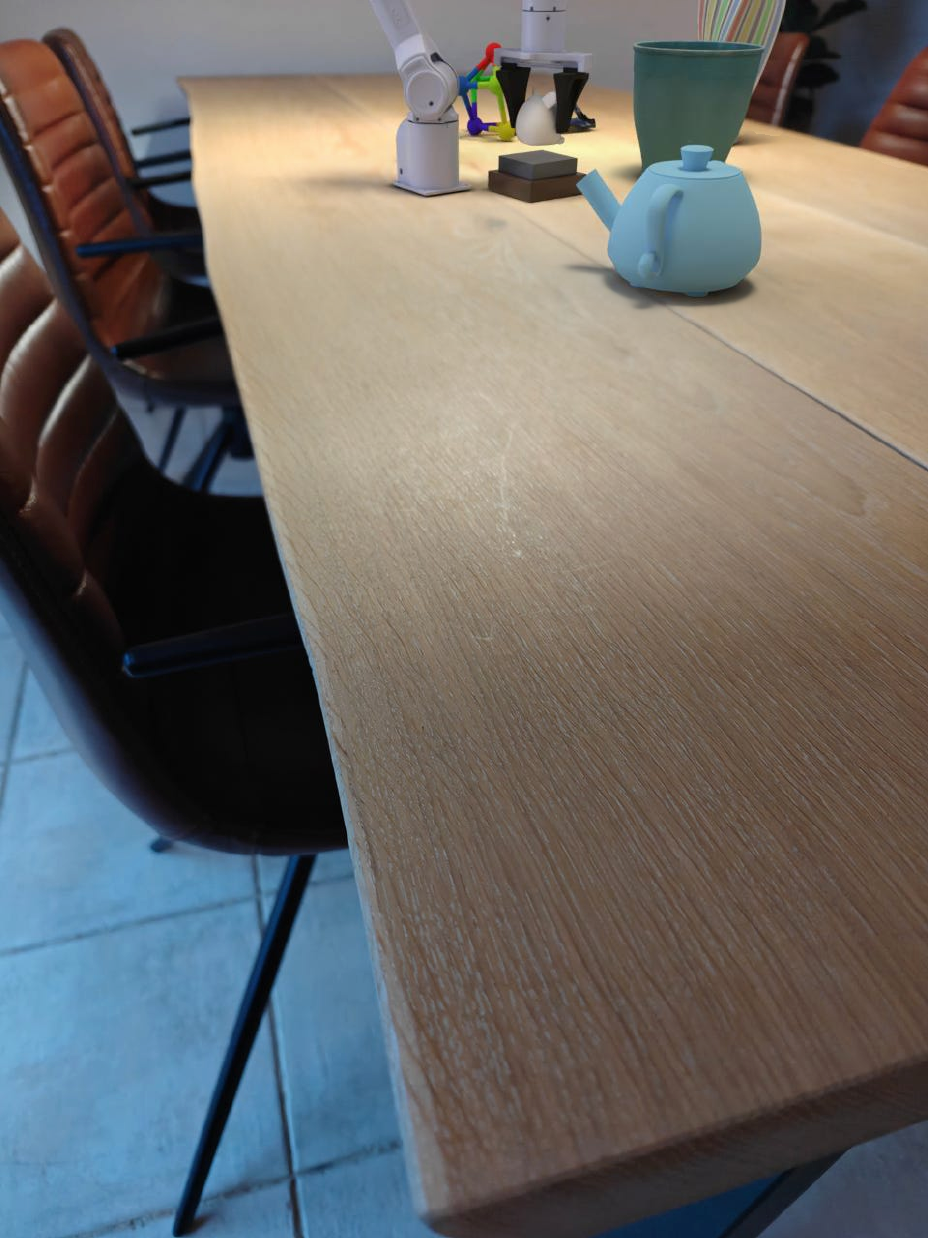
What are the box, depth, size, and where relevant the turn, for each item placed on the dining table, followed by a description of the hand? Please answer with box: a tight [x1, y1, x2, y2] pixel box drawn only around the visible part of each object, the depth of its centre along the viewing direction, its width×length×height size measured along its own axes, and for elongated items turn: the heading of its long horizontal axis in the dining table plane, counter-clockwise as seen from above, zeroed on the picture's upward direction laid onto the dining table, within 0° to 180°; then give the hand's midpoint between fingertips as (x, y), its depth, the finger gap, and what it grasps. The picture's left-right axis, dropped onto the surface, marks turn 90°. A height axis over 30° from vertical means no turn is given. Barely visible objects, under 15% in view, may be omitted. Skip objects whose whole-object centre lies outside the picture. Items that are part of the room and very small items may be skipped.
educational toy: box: [458, 41, 517, 142], centre depth 158 cm, size 16×13×15 cm
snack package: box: [569, 104, 597, 133], centre depth 168 cm, size 12×6×12 cm
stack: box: [487, 149, 588, 203], centre depth 125 cm, size 10×10×4 cm
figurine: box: [515, 84, 566, 147], centre depth 120 cm, size 8×6×7 cm
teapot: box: [576, 145, 762, 298], centre depth 89 cm, size 20×20×13 cm
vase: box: [696, 0, 787, 144], centre depth 147 cm, size 14×14×30 cm
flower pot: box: [632, 39, 765, 175], centre depth 128 cm, size 18×18×17 cm
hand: (539, 129), depth 121 cm, fingers closed on figurine, 7 cm apart
